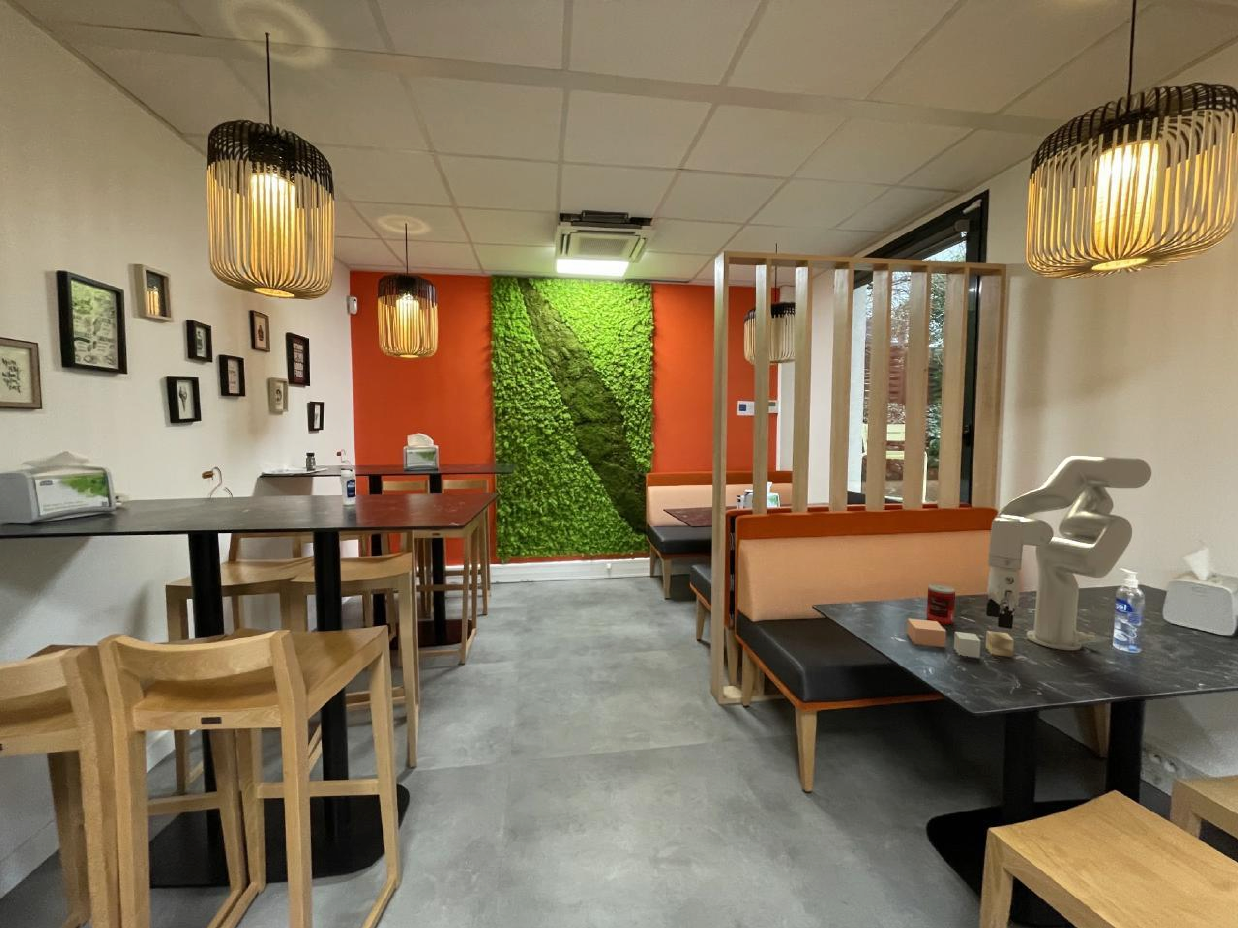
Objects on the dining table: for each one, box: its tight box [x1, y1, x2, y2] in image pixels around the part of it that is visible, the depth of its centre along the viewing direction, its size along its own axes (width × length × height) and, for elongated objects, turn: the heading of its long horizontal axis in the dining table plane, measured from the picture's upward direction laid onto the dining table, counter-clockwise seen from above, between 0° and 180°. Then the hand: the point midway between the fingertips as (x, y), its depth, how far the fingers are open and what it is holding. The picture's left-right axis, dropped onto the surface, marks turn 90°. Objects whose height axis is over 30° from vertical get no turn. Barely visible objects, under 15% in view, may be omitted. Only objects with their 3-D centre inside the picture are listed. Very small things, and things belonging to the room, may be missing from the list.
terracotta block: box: [907, 618, 947, 648], centre depth 158 cm, size 8×8×5 cm
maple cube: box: [985, 630, 1015, 658], centre depth 150 cm, size 5×5×5 cm
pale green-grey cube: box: [953, 631, 981, 659], centre depth 149 cm, size 5×5×5 cm
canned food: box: [926, 583, 956, 625], centre depth 174 cm, size 8×8×11 cm
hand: (998, 621), depth 149 cm, fingers open, 9 cm apart
